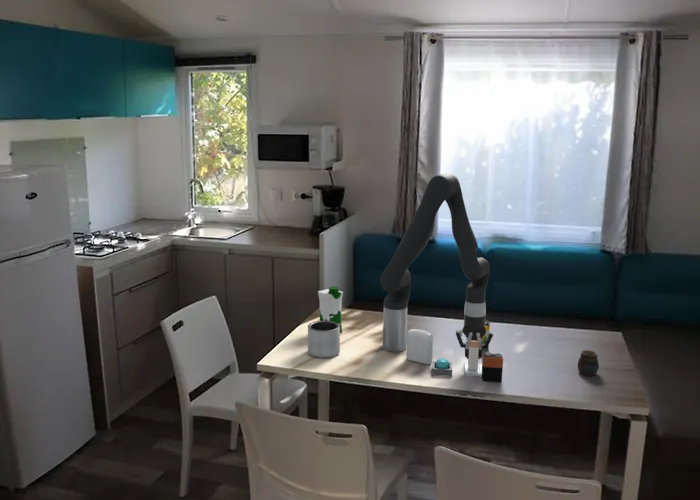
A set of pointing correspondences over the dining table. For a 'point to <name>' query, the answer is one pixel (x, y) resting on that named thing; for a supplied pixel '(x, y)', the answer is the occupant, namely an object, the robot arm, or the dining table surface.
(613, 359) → the dining table surface
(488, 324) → the crayon box
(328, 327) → the planter
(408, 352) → the photo printer
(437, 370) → the button housing
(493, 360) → the battery
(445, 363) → the button
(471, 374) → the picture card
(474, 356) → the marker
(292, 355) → the dining table surface
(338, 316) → the milk carton
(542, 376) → the dining table surface
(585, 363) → the mate gourd
